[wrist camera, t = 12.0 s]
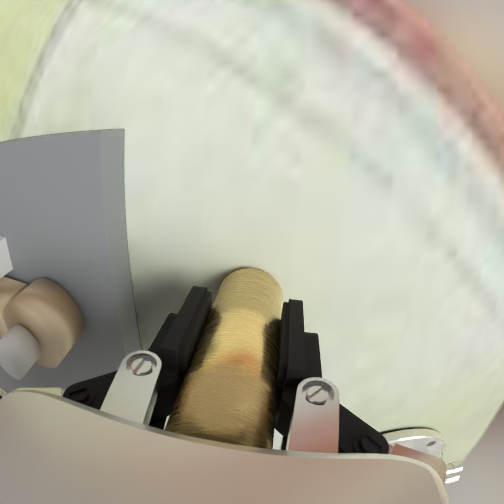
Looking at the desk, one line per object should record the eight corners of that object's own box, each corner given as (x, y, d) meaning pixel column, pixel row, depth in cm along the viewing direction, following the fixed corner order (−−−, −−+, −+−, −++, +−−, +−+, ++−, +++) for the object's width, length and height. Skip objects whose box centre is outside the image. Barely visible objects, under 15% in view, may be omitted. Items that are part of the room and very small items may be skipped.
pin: (286, 272, 14) (278, 460, 5) (277, 325, 15) (261, 498, 7) (220, 264, 14) (145, 435, 6) (218, 317, 15) (162, 480, 7)
